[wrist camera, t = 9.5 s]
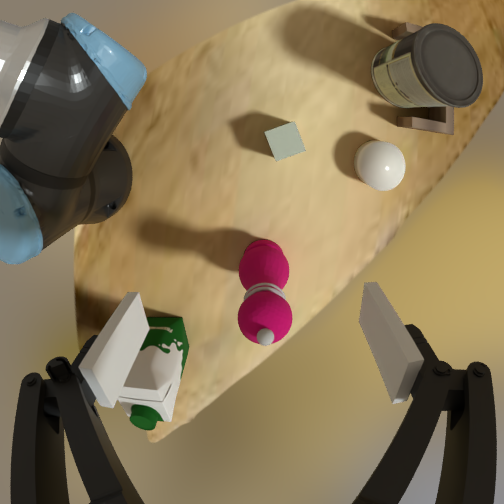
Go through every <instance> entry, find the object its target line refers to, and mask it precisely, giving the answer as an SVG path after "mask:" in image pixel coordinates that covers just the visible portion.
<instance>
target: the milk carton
mask: <svg viewBox="0 0 504 504" xmlns="http://www.w3.org/2000/svg"><path fill="white" fill-rule="evenodd" d="M147 322H148V325H149V331H148V333H147V335H146V337H145V340H144V342H143V344H142V346H141V348H140V350H139V352H138V354H137V357H136V359H135V361H134V363H133V365H132V367H131V370H130V372H129V374H128V376H127V378H126V381H125V383H124V385H123V387H122V390H121V392H120V394H119V397H118V401H119V402H120V404H121V406H122V407H123V409H124V410H125V412H126V414H127V415H128V416H130V421H131V422H132V424H134V425H135V426H136V427H138V428H141V429H144V430H153V429H154V428H155V426H156V423H157V421H169V422H171V420H172V415H173V409H174V404H175V399H176V395H177V391H178V388H179V384H180V380H181V377H182V373H183V370H184V366H185V362H186V359H187V355H188V350H189V344H188V339H187V335H186V331H185V327H184V323H183V318H182V317H147Z"/></svg>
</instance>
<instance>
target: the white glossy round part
mask: <svg viewBox="0 0 504 504" xmlns="http://www.w3.org/2000/svg"><path fill="white" fill-rule="evenodd" d="M354 169H355V172H356V174H357V176H358V177H359V179H360V180H361V181H363V182H364V183H366V184H367V185H369V186H371V187H372V188H374V189H376V190H380V191H387V190H390V189H393V188H394V187H396V186H397V185H398V184H399V183H400V182H401V180H402V178H403V176H404V173H405V160H404V157H403V155H402V153H401V151H400V150H399V149H398V148H397V147H396V146H395V145H393V144H391V143H388V142H383V141H377V140H372V141H368V142H366V143H364V144H362V145H361V146H360V147H359V149H358V150H357V152H356V154H355V157H354Z"/></svg>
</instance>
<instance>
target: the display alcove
mask: <svg viewBox="0 0 504 504" xmlns="http://www.w3.org/2000/svg"><path fill="white" fill-rule="evenodd" d="M421 28H422V27H421V26H418V25H414V24H411V23H407V22H405V23H404V24H402V25H400V26H399V27H397V28H396V29H394V30H392V34H393V39H396V40H401V39H403V38H405V37H407V36H409V35H411V34H413V33H414V32H416V31H418V30H420V29H421ZM397 127H405V128H412V129H418V130H424V131H430V132H436V133H444V134H451V135H454V107H451V106H435V107H429V120H427V119H422V118H416V117H397Z"/></svg>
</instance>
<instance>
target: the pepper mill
mask: <svg viewBox="0 0 504 504" xmlns="http://www.w3.org/2000/svg"><path fill="white" fill-rule="evenodd" d="M239 277H240V280H241V283H242V285H243V287H244V288H245V289H246V290H247V292H246V293H245V296H244V302H243V303H242V304H241V306H240V308H239V312H238V324H239V327H240V330H241V332H242V333H243V335H244V336H245V337H246V338H248V339H249V340H250V341H252V342H255V343H258V344H261V345H264V346H267V345H270V344H272V343H275V342H278V341H279V340H281V339H282V338H283V337H284V336H285V335H286V334H287V333H288V331H289V330H290V327H291V324H292V311H291V308H290V306H289V304H288V302H287V301H286V298H285V294H284V292H283V291H282V289H283V288H284V286H285V285H286V283H287V280H288V277H289V264H288V261H287V259H286V257H285V256H284V255H283V252H282V249H281V248H280V247H279V246H278V245H277V244H276V243H274V242H272V241H270V240H258V241H255V242H253V243H252V244H250V245H249V246H248V247H247V249H246V250H245V253H244V256H243V258H242V259H241V261H240V264H239Z"/></svg>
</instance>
